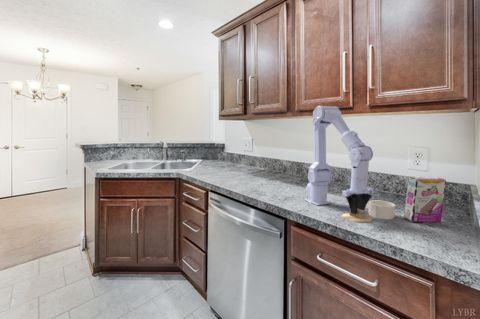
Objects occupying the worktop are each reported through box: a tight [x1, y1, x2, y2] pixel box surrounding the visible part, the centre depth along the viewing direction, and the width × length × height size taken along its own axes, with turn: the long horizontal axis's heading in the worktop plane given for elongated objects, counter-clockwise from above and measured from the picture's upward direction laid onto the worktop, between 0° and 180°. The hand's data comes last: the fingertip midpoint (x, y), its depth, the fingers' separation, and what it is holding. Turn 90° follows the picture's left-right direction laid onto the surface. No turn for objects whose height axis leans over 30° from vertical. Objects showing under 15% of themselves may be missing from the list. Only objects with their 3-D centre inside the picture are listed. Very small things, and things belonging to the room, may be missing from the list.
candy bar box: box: [403, 176, 447, 223], centre depth 94 cm, size 11×5×16 cm, turn 92°
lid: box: [342, 209, 373, 224], centre depth 98 cm, size 10×10×4 cm
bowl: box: [367, 199, 396, 220], centre depth 100 cm, size 9×9×5 cm
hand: (357, 212), depth 97 cm, fingers open, 3 cm apart
